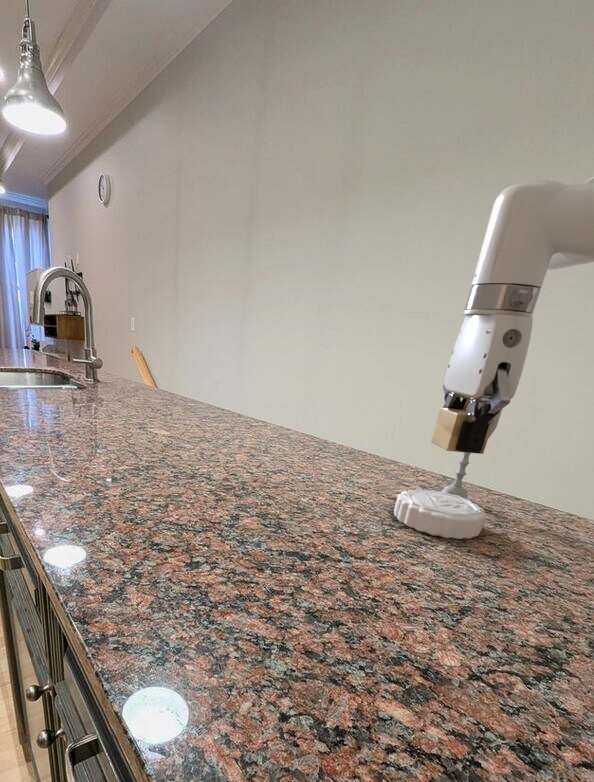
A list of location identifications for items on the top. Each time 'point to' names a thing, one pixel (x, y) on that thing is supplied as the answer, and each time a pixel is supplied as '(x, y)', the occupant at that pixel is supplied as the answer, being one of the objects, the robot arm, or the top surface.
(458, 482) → the chalice
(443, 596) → the top surface
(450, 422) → the block
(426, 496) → the mooncake
